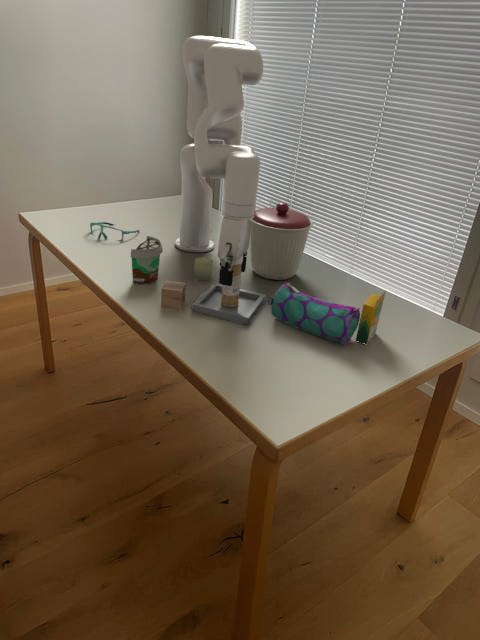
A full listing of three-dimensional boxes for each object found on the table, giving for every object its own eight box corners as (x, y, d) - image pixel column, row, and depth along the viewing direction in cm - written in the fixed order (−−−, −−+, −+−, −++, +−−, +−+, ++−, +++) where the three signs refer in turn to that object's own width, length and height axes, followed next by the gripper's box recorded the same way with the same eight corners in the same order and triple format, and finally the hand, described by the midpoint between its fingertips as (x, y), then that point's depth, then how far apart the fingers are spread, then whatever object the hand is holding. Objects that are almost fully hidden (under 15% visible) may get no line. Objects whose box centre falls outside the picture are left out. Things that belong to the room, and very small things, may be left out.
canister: (315, 275, 149) (327, 205, 139) (280, 291, 137) (291, 216, 127) (267, 257, 159) (275, 191, 149) (230, 271, 146) (237, 199, 136)
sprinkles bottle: (233, 299, 128) (238, 249, 122) (241, 306, 125) (246, 256, 118) (217, 301, 126) (221, 251, 120) (225, 309, 123) (229, 258, 117)
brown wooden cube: (165, 298, 127) (165, 280, 124) (184, 300, 127) (185, 282, 124) (161, 307, 122) (161, 288, 120) (181, 309, 122) (182, 291, 120)
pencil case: (264, 321, 121) (269, 285, 116) (282, 309, 127) (287, 275, 123) (343, 353, 111) (351, 315, 107) (358, 338, 118) (367, 301, 113)
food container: (153, 289, 130) (153, 253, 126) (130, 285, 131) (130, 249, 127) (168, 272, 141) (169, 238, 137) (147, 268, 142) (147, 235, 137)
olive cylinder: (198, 272, 143) (199, 255, 141) (214, 275, 142) (215, 259, 140) (191, 278, 139) (191, 261, 137) (207, 282, 138) (208, 265, 135)
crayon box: (364, 329, 122) (374, 286, 116) (376, 333, 121) (387, 289, 115) (354, 341, 116) (364, 296, 111) (366, 345, 115) (378, 300, 109)
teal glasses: (82, 235, 161) (82, 220, 159) (110, 228, 174) (110, 214, 172) (119, 245, 157) (119, 229, 155) (144, 237, 170) (145, 222, 168)
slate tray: (213, 289, 134) (214, 282, 133) (265, 301, 130) (265, 294, 129) (191, 311, 122) (192, 304, 121) (247, 325, 118) (248, 318, 117)
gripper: (235, 197, 122) (230, 262, 130) (209, 215, 108) (204, 287, 116) (265, 203, 120) (257, 268, 129) (242, 221, 106) (234, 294, 114)
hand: (232, 277), depth 122 cm, fingers open, 9 cm apart
